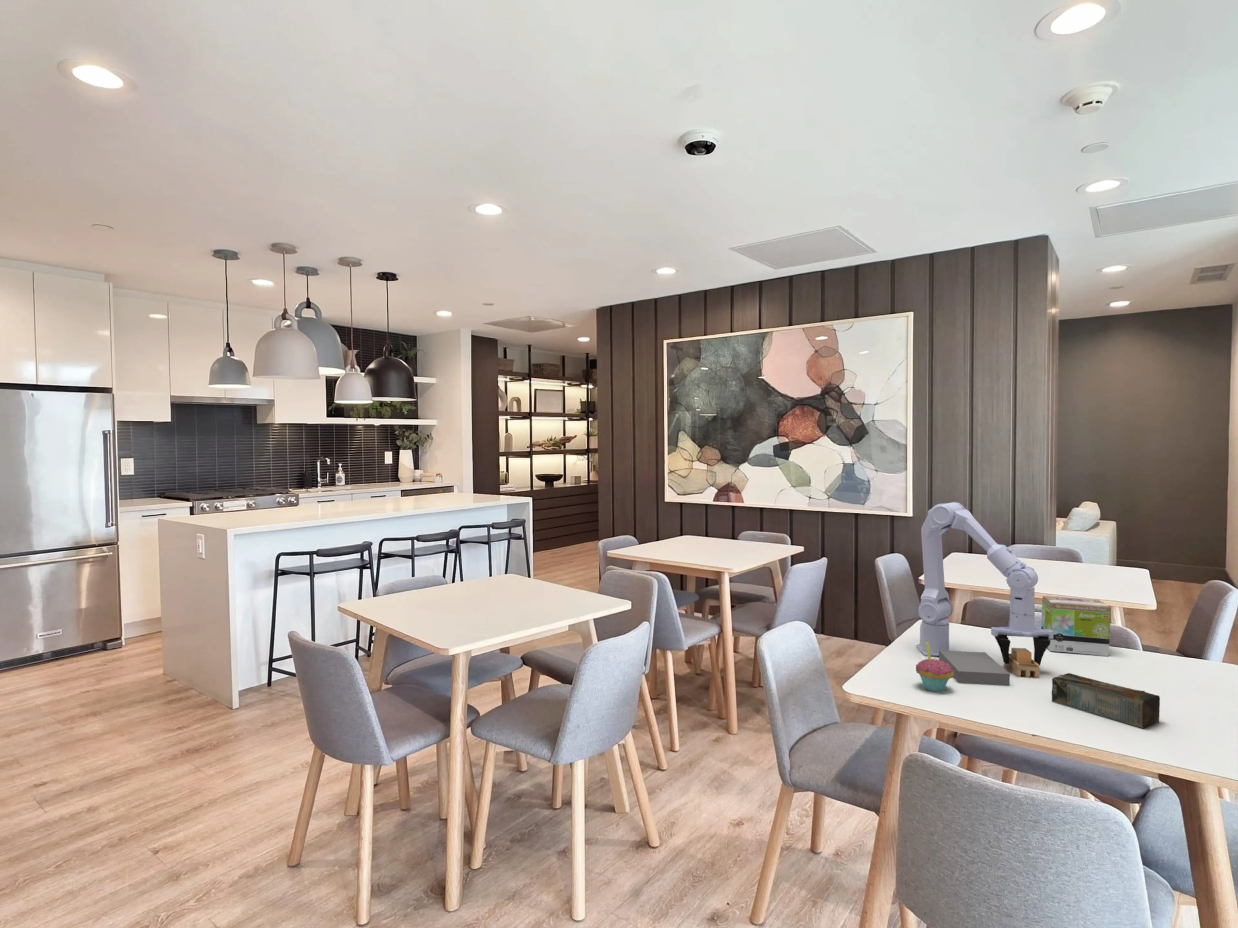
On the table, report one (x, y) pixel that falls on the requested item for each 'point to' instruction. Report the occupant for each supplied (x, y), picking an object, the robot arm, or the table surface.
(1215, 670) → the table surface
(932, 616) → the robot arm
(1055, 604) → the tea box
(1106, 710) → the beverage carton
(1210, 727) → the table surface
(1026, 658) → the light brown block
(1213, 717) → the table surface
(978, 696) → the table surface
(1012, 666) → the pallet
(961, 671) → the dock
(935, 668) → the cupcake
